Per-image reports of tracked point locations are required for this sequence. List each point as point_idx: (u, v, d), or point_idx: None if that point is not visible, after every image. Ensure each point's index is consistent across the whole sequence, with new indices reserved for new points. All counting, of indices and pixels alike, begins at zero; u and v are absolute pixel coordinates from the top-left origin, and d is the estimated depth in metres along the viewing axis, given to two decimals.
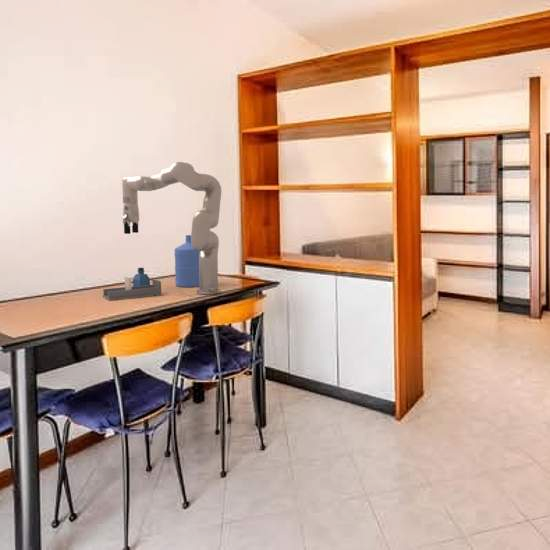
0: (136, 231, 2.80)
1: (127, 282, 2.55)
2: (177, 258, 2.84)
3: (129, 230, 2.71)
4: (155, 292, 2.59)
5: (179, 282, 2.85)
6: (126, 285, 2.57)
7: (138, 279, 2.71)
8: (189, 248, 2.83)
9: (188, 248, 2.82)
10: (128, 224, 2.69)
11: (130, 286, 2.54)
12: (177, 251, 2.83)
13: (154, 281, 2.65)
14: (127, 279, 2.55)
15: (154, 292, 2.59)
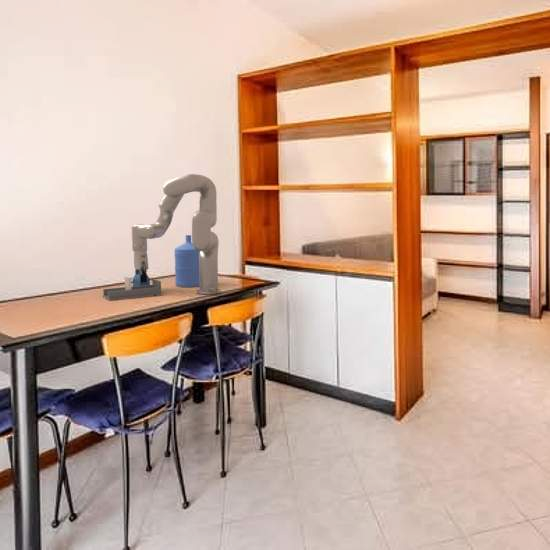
0: None
1: (127, 282, 2.55)
2: (177, 258, 2.84)
3: (146, 278, 2.71)
4: (155, 292, 2.59)
5: (179, 282, 2.85)
6: (126, 285, 2.57)
7: (138, 279, 2.71)
8: (189, 248, 2.83)
9: (188, 248, 2.82)
10: (146, 273, 2.70)
11: (130, 286, 2.54)
12: (177, 251, 2.83)
13: (154, 281, 2.65)
14: (127, 279, 2.55)
15: (154, 292, 2.59)
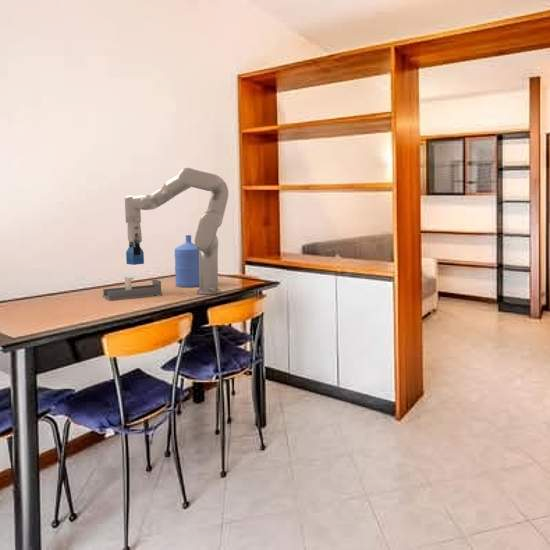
0: None
1: (127, 282, 2.55)
2: (177, 258, 2.84)
3: (139, 251, 2.64)
4: (155, 292, 2.59)
5: (179, 282, 2.85)
6: (126, 285, 2.57)
7: (131, 252, 2.64)
8: (189, 248, 2.83)
9: (188, 248, 2.82)
10: None
11: (130, 286, 2.54)
12: (177, 251, 2.83)
13: (154, 281, 2.65)
14: (127, 279, 2.55)
15: (154, 292, 2.59)
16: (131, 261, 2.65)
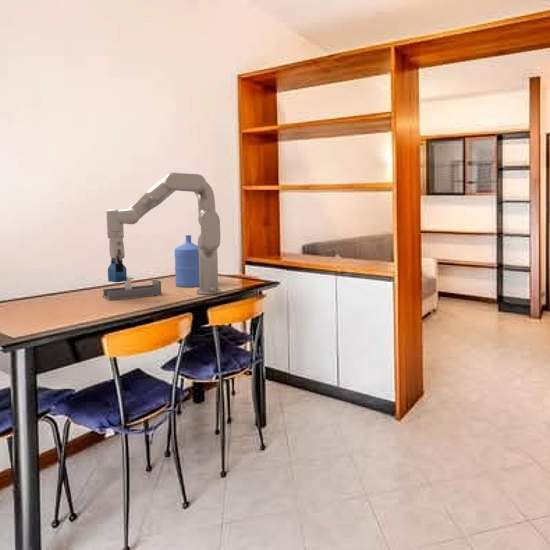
0: None
1: (127, 282, 2.55)
2: (177, 258, 2.84)
3: (122, 268, 2.50)
4: (155, 292, 2.59)
5: (179, 282, 2.85)
6: (126, 285, 2.57)
7: (113, 268, 2.50)
8: (189, 248, 2.83)
9: (188, 248, 2.82)
10: (122, 262, 2.48)
11: (130, 286, 2.54)
12: (177, 251, 2.83)
13: (154, 281, 2.65)
14: (127, 279, 2.55)
15: (154, 292, 2.59)
16: (113, 279, 2.51)
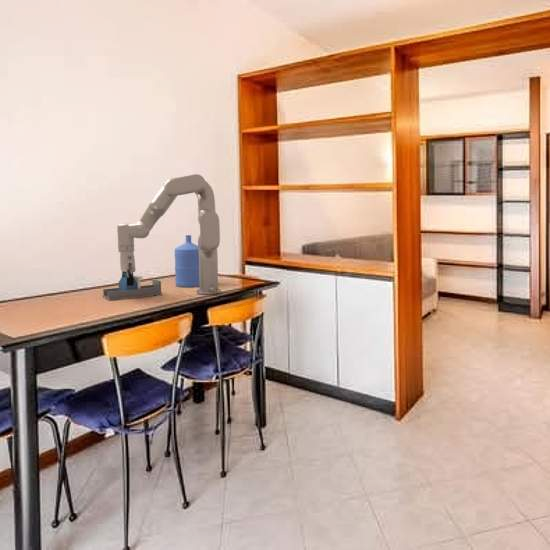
0: None
1: None
2: (177, 258, 2.84)
3: (133, 281, 2.53)
4: (155, 292, 2.59)
5: (179, 282, 2.85)
6: None
7: (124, 282, 2.53)
8: (189, 248, 2.83)
9: (188, 248, 2.82)
10: (133, 275, 2.52)
11: (139, 285, 2.56)
12: (177, 251, 2.83)
13: (154, 281, 2.65)
14: (136, 278, 2.57)
15: (154, 292, 2.59)
16: None
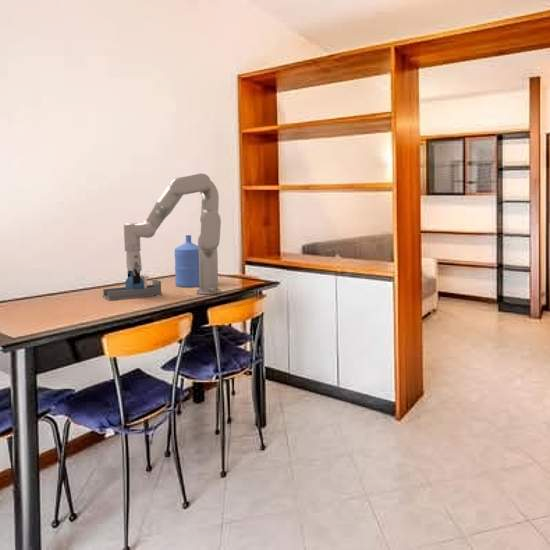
0: None
1: None
2: (177, 258, 2.84)
3: (139, 280, 2.54)
4: (155, 292, 2.59)
5: (179, 282, 2.85)
6: None
7: (130, 282, 2.55)
8: (189, 248, 2.83)
9: (188, 248, 2.82)
10: None
11: (145, 285, 2.58)
12: (177, 251, 2.83)
13: (154, 281, 2.65)
14: (142, 278, 2.59)
15: (154, 292, 2.59)
16: None
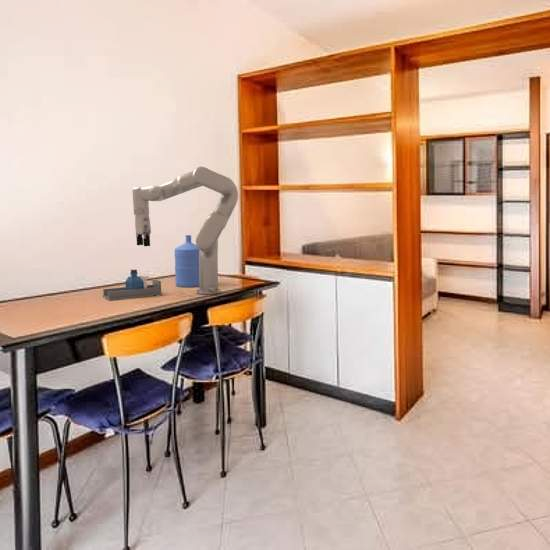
0: (141, 243, 2.68)
1: None
2: (177, 258, 2.84)
3: (149, 242, 2.60)
4: (155, 292, 2.59)
5: (179, 282, 2.85)
6: None
7: (130, 282, 2.55)
8: (189, 248, 2.83)
9: (188, 248, 2.82)
10: (149, 236, 2.59)
11: (145, 285, 2.58)
12: (177, 251, 2.83)
13: (154, 281, 2.65)
14: (142, 278, 2.59)
15: (154, 292, 2.59)
16: None
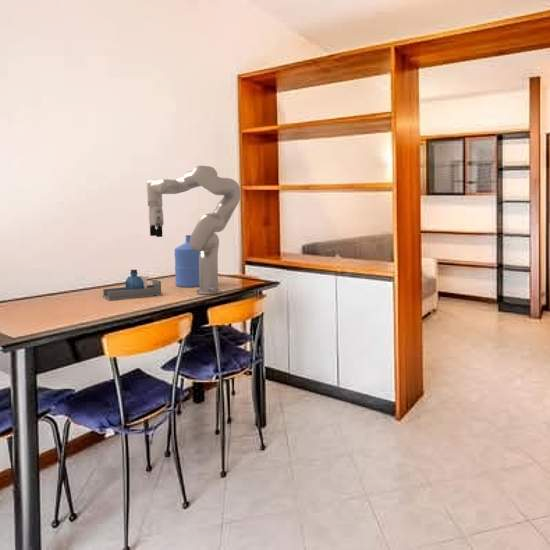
0: (154, 234, 2.80)
1: None
2: (177, 258, 2.84)
3: (161, 233, 2.72)
4: (155, 292, 2.59)
5: (179, 282, 2.85)
6: None
7: (130, 282, 2.55)
8: (189, 248, 2.83)
9: (188, 248, 2.82)
10: None
11: (145, 285, 2.58)
12: (177, 251, 2.83)
13: (154, 281, 2.65)
14: (142, 278, 2.59)
15: (154, 292, 2.59)
16: None
